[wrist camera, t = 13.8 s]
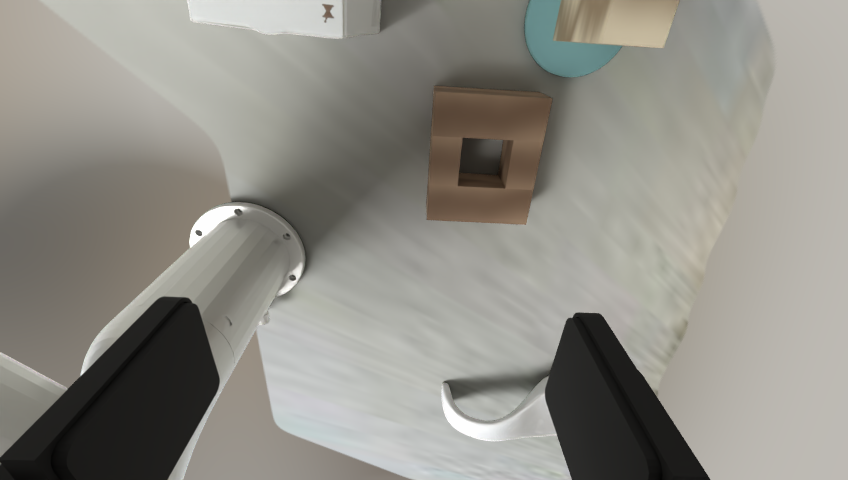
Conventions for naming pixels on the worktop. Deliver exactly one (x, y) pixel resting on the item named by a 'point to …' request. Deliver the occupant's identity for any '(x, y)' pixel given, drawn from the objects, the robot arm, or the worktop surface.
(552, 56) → the teal rubber pad
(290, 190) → the worktop surface
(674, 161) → the worktop surface
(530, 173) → the walnut socket block
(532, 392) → the spoon rest
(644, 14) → the maple peg
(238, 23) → the skincare box
